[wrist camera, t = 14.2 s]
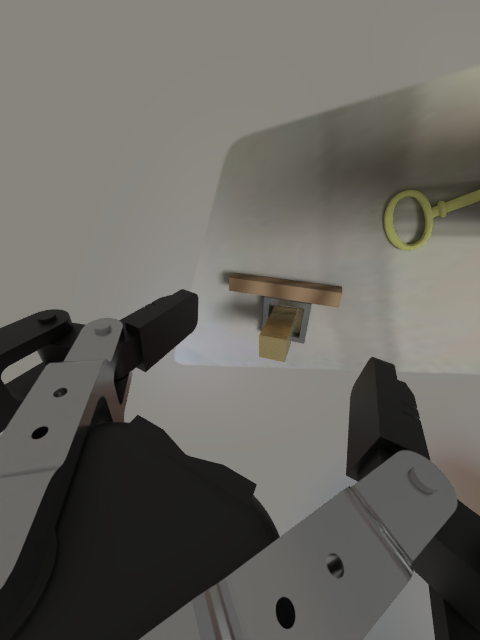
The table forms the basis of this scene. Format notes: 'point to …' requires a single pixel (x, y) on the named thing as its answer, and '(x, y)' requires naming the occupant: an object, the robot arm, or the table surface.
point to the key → (429, 214)
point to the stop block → (278, 333)
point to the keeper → (298, 304)
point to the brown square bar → (286, 289)
